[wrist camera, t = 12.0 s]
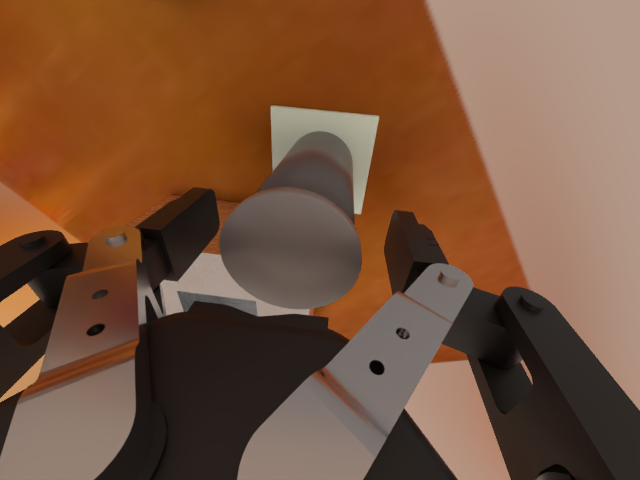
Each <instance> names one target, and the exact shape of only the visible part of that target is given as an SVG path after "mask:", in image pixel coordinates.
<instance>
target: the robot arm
mask: <svg viewBox="0 0 640 480" xmlns="http://www.w3.org/2000/svg"><path fill="white" fill-rule="evenodd" d="M219 227H220V220H219V214H218V208H217V202H216V197H215V193H214V191H213V190H211V189H203V188H192V189H191V190H190V191H188V192H187V193H186V194H184V195H183V196H182V197H180V198H178V199H175V200H173V201H170V202H169V203H167V204H166V205H165V206H163V207H162V208H160V209H159V210H158V211H156V213H153V214H152V215H151V216H149V217H148V218H147V219H145V220H144V221H142V222H141V223H140V224H138V225H137V226H135V227H128V226H124V227H116V228H111V229H107V230H105V231H102V232H100V233H98V234H96V235H95V236H93V237H92V238H91V239H90V240H89V242H88V243H75V244H69V243H68V242H67V240H66V238H65V237H64V235H63V234H62V233H61V232H59V231H53V230H46V231H39V232H33V233H29V234H25V235H22V236H20V237H17V238H15V239H13V240H11V241H9V242H7V243H5V244H3V245H1V246H0V302H1V301H2V300H3V299H5V298H7V297H8V296H9V295H11V294H12V293H14V292H15V291H17V290H18V289H20V288H21V287H22V286H23V285H25V284H28V285H29V286H30V287H31V289H32V290H33V291H34V292H35V294H36V295H37V296H38V297H39V298H40V300H39V301H37V302H36V303H35V304H33V305H32V306H31V307H30V308H28V309H27V310H26V311H25V312H23V313H22V314H21V315H20V316H18V317H17V318H16V319H14V320H13V321H12V322H11V323H9V324H8V325H7V326H6V327H4V328H3V327H2V326H1V325H0V398H1V397H2V396H3V395H4V394H5V393H6V392H7V391H8V390H9V389H10V388H11V387H12V386H13V385H14V384H15V383H16V382H17V381H18V380H19V379H20V378H21V377H22V376H23V375H24V374H25V373H26V372H27V371H28V370H29V369H30V368H31V367H32V366H33V365H34V364H35V363H36V362H37V361H38V360H39V359H40V358H41V357H42V356H43V355H44V354H45V356H44V360H43V363H42V367H41V371H40V374H39V377H38V379H37V380H36V382H35V383H33V384H32V385H30V386H28V387H27V388H26V389H25V390H23V391H21V392H19V393H17V394H15V395H13V396H11V397H10V398H8V399H6V400H4V401H2V402H0V480H458V479H457V478H456V477H455V475H454V474H453V473H452V471H451V470H450V469H449V467H448V466H447V465H446V464H445V462H444V461H443V459H442V458H441V457H440V455H439V454H438V453H437V451H436V450H435V449H434V447H433V446H432V445H431V443H430V442H429V441H428V439H427V438H426V437H425V435H424V434H423V433H422V431H421V430H420V429H419V427H418V426H417V425H416V423H415V422H414V421H413V419H412V418H411V417H410V415H409V414H408V413H407V411H406V410H405V409H404V407H405V406H406V404H407V402H408V400H409V399H410V397H411V395H412V394H413V392H414V390H415V388H416V386H417V385H418V383H419V381H420V379H421V378H422V376H423V374H424V373H425V371H426V369H427V367H428V366H429V364H430V362H431V360H432V359H433V357H434V355H435V354H436V352H437V350H438V348H439V347H440V345H441V343H442V344H444V345H447V346H449V347H451V348H454V349H456V350H459V351H461V352H464V353H466V354H467V357H468V360H469V363H470V366H471V368H472V371H473V374H474V377H475V380H476V382H477V385H478V388H479V391H480V394H481V397H482V399H483V402H484V405H485V408H486V411H487V413H488V416H489V419H490V422H491V424H492V427H493V430H494V433H495V436H496V439H497V441H498V444H499V447H500V450H501V453H502V456H503V458H504V461H505V464H506V467H507V470H508V472H509V475H510V478H511V480H640V411H639V410H638V408H637V407H636V406H635V405H634V403H633V402H632V401H631V400H630V399H629V397H628V396H627V395H626V393H625V392H624V391H623V390H622V388H621V387H620V386H619V385H618V384H617V382H616V381H615V380H614V379H613V377H612V376H611V375H610V374H609V372H608V371H607V370H606V369H605V368H604V366H603V365H602V364H601V363H600V362H599V360H598V359H597V358H596V357H595V355H594V354H593V353H592V351H591V350H590V349H589V348H588V347H587V345H586V344H585V343H584V342H583V340H582V339H581V338H580V337H579V336H578V334H577V333H576V332H575V331H574V329H573V328H572V327H571V326H570V325H569V323H568V322H567V321H566V319H565V318H564V317H563V316H562V314H561V313H560V312H559V311H558V310H557V308H556V307H555V306H554V305H553V304H552V303H551V302H549V301H548V300H547V299H545V298H544V297H542V296H541V295H539V294H537V293H535V292H533V291H531V290H528V289H525V288H521V287H508V288H506V289H505V290H504V291H503V292H502V294H501V295H500V296H498V295H495V294H491V293H488V292H485V291H482V290H479V289H477V288H474V287H473V283H472V280H471V279H470V278H469V276H468V275H467V274H465V273H464V272H463V271H461V270H460V269H458V268H456V267H453V266H451V265H449V263H448V262H447V260H446V258H445V256H444V254H443V252H442V250H441V248H440V247H439V244H438V242H437V241H436V239H435V237H434V235H433V233H432V231H431V230H429V229H428V228H427V227H426V226H425V225H423V224H418V222H417V220H416V218H415V216H414V213H413V212H407V211H398V210H395V211H394V212H393V215H392V218H391V222H390V225H389V229H388V233H387V236H386V240H385V246H384V254H385V259H386V264H387V269H388V274H389V279H390V284H391V289H392V294H393V296H392V297H391V298H390V299H389V300H388V301H387V303H386V304H385V305H384V306H383V307H382V308H381V309H380V310H379V311H378V312H377V313H376V314H375V315H374V316H373V317H372V318H371V319H370V320H369V321H368V322H367V324H366V325H365V326H364V327H363V328H362V329H361V330H360V331H359V332H358V333H357V334H356V335H355V336H354V337H353V338H352V339H351V340H349V339H347V338H346V337H344V336H343V335H341V334H339V333H337V332H335V331H333V330H330V329H328V318H326V317H318V316H310V315H302V314H284V315H272V316H255V315H252V314H250V313H247V312H244V311H242V310H239V309H237V308H234V307H231V306H229V305H224V304H216V303H209V302H201V301H194V302H193V304H192V305H191V307H190V308H189V310H188V311H184V312H179V313H174V314H170V315H166V308H165V301H164V295H163V289H162V286H161V284H160V283H161V282H162V281H163V280H169V281H177V282H178V281H179V280H180V278H181V277H182V276H183V275H184V273H185V272H186V271H187V270H188V269H189V267H190V266H191V265H192V264H193V262H194V261H195V260H196V259H197V258H198V256H199V255H200V254H201V253H202V251H203V250H204V249H205V248H206V247H207V245H208V244H209V243H210V242H211V240H212V239H213V238H214V237H215V236H216V234H217V233H218V231H219ZM521 360H524V362H525V364H526V366H527V368H528V370H529V371H530V374H531V376H532V381H533V385H532V383H531V382H530V379H529V378H528V376H527V374H526V372H525V370H524V368H523V366H522V364H521V363H520V362H521Z"/></svg>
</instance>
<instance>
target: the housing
mask: <svg viewBox="0 0 640 480" xmlns="http://www.w3.org/2000/svg"><path fill="white" fill-rule="evenodd" d="M180 197H182V196H178V195H170V196H168V197H167V198H166V199H164V200H163V201H161V202H160V203H158V204H157V205H155V206H154V207H152V208H151V209H149V210H148V211H146V212H145V213H143V214H142V215H140V216H139V217H137V218H136V219H134V220H133V221H131V222H130V223H129V224H127V225H126V226H128V227H135V226H137V225H138V224H140V223H141V222H142V221H144V220H145V219H147V218H148V217H149V216H151V215H152V214H153V213H156V211H158V210H159V209H160V208H162V207H163V206H165V205H166V204H167V203H169V202H170V201H173V200H175V199H178V198H180ZM216 202H217V208H218V214H219V220H220V227H219V231H218V233H217V234H216V236H215V237H214V238H213V239H212V240H211V242H210V243H209V244H208V245H207V247H206V248H205V249H204V250H203V251H202V253H201V254H200V255H199V256H198V258H197V259H196V260H195V261H194V262H193V264H192V265H191V266H190V267H189V269H188V270H187V271H186V272H185V273H184V275H183V276H182V277H181V278H180V280H179V281H178V282H177V281H169V280H163V281H162V282H161V283H160V284H161V286H162V289H163V295H164V301H165V308H166V315H170V314H174V313H179V312H184V311H188V310H189V308H190V307H191V305H192V304H193V302H194V301H201V302H209V303H216V304H224V305H229V306H231V307H234V308H237V309H239V310H242V311H244V312H247V313H250V314H252V315H255V316H272V315H284V314H302V315H310V316H314V308H313V309H288V308H282V307H278V306H274V305H271V304H268V303H266V302H264V301H261V300H259V299H257V298H256V297H254V296H252V295H251V294H249V293H248V292H246V291H245V290H244V289H243V288H241V287H240V286H239V285H238V284H237V283H236V282H235V281H234V280H233V278H232V277H231V276H230V274H229V273H228V271H227V269H226V268H225V266H224V263H223V261H222V258H221V254H220V247H219V241H220V234H221V230H222V227H223V225H224V223H225V221H226V220H227V218H228V217H229V216H230V214H231V213H232V212H233V211H234V210H235V208H236V207H237V206H238V205H239V204H240V203H239V202H230V201H222V200H216Z"/></svg>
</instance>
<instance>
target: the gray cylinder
mask: <svg viewBox="0 0 640 480" xmlns="http://www.w3.org/2000/svg"><path fill="white" fill-rule="evenodd" d="M219 247H220V254H221V258H222V261H223V263H224V266H225V268H226V269H227V271H228V273H229V274H230V276H231V277H232V278H233V280H234V281H235V282H236V283H237V284H238V285H239V286H240V287H241V288H243V289H244V290H245V291H246V292H248V293H249V294H251V295H252V296H254V297H256V298H257V299H259V300H261V301H264V302H266V303H268V304H271V305H274V306H278V307H282V308H288V309H313V308H319V307H322V306H326V305H328V304H331V303H333V302H335V301H337V300H338V299H340V298H341V297H343V296H344V295H345V294H347V293H348V291H349V290H350V289H351V288H352V287H353V286H354V284H355V283H356V281H357V279H358V277H359V273H360V270H361V263H362V260H361V244H360V239H359V235H358V232H357V230H356V228H355V225H354V191H353V161H352V156H351V153H350V150H349V148H348V147H347V145H346V144H345V143H344V142H343V141H342V140H341V139H340V138H339V137H337V136H336V135H334V134H332V133H329V132H324V131H316V132H311V133H308V134H306V135H304V136H302V137H301V138H300V139H299V140H298V141H297V142H296V143H295V144H294V145H293V147H292V148H291V149H290V150H289V152H288V153H287V154H286V155H285V157H284V158H283V159H282V161H281V162H280V163H279V164H278V166H277V167H276V168H275V169H274V171H273V172H272V173H271V174H270V176H269V177H268V178H267V179H266V181H265V182H264V183H263V184H262V186H261V187H260V188H259V189H258V191H257V192H256V193H255V194H253V195H251V196H249V197H247V198H246V199H245V200H244V201H242V202H241V203H240V204H239V205H238V206H237V207H236V208H235V210H234V211H233V212H232V213H231V214H230V216H229V217H228V218H227V220H226V221H225V223H224V225H223V227H222V230H221V234H220V241H219Z"/></svg>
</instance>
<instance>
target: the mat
mask: <svg viewBox="0 0 640 480" xmlns="http://www.w3.org/2000/svg"><path fill="white" fill-rule="evenodd" d="M378 121H379V115H369V114H359V113H349V112H339V111H328V110H318V109H308V108H298V107H287V106H277V105H272V106H271V137H272V168H273V171H274V169H275V168H276V167H277V166H278V164H279V163H280V162H281V161H282V159H283V158H284V157H285V155H286V154H287V153H288V152H289V150H290V149H291V148H292V147H293V145H294V144H295V143H296V142H297V141H298V140H299V139H300V138H301V137H302V136H304V135H306V134H308V133H311V132H316V131H324V132H329V133H332V134H334V135H336V136H337V137H339V138H340V139H341V140H342V141H343V142H344V143H345V144H346V145H347V147H348V148H349V150H350V153H351V156H352V161H353V191H354V214H361V211H362V206H363V200H364V195H365V190H366V184H367V179H368V174H369V169H370V163H371V158H372V153H373V147H374V142H375V137H376V132H377V126H378Z"/></svg>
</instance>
